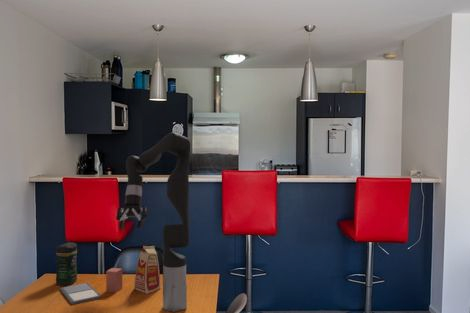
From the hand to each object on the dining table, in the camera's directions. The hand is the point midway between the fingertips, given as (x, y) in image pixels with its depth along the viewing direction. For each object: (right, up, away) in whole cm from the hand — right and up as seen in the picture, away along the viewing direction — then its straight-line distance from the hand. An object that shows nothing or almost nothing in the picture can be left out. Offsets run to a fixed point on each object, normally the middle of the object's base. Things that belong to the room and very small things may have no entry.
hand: (130, 229), depth 188 cm
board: (-18, -26, -14) cm, 34 cm away
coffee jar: (-30, -26, +1) cm, 40 cm away
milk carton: (+10, -26, -6) cm, 28 cm away
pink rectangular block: (-5, -26, -8) cm, 27 cm away
